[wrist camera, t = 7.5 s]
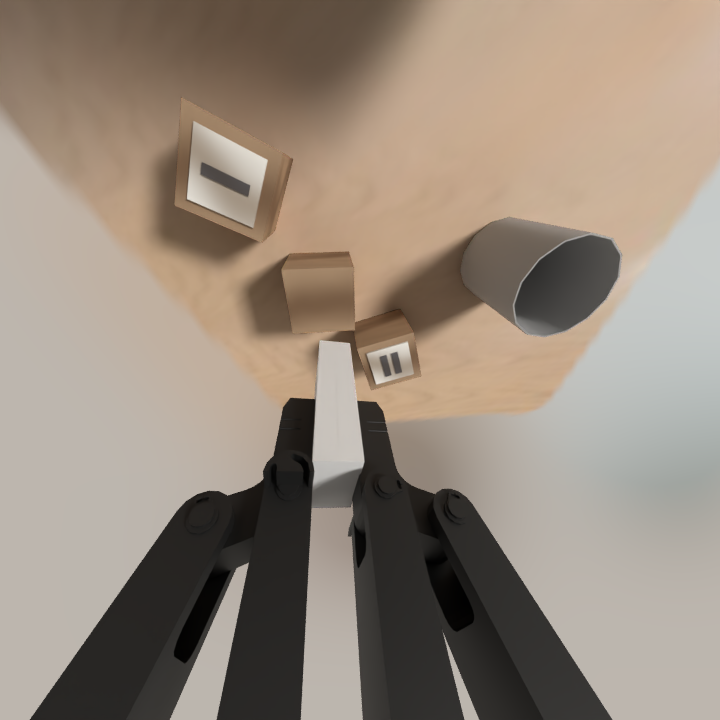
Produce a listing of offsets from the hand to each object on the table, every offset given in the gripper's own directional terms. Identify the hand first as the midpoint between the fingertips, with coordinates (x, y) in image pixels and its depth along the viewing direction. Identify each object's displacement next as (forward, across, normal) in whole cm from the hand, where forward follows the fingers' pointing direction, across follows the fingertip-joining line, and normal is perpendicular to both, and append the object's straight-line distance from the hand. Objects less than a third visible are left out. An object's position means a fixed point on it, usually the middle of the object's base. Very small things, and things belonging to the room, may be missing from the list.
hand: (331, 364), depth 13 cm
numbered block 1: (+17, -8, +6) cm, 20 cm away
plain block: (+17, -1, -2) cm, 17 cm away
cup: (+18, +18, +4) cm, 26 cm away
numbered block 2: (+17, +7, -8) cm, 20 cm away
